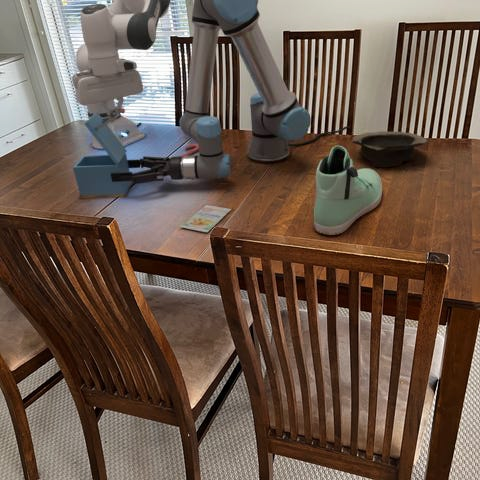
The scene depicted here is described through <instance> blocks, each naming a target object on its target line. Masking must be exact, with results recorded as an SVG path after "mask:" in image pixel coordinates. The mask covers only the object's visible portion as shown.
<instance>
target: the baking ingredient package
mask: <svg viewBox="0 0 480 480" xmlns="http://www.w3.org/2000/svg"><path fill="white" fill-rule="evenodd" d="M231 211H232V208H228V207H221V206H217V205H211V204H205V205H204V206H203V207H201V209H199V210H198V211H197V212H196V213H195V214H193V215H192V216H191V217H190V218H189V219H188V220H187V221H185V222H184V223H183V224H181V226H180V228H183V229H187V230H193V231H198V232H203V233H209V232H210V230H212V228H213V227H215V226H216V225H217V224H219V222H220V221H221V220H222V219H223V218H224V217H225V216H226V215H228V213H230V212H231Z"/></svg>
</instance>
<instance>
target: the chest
mask: <svg viewBox="0 0 480 480" xmlns="http://www.w3.org/2000/svg"><path fill="white" fill-rule="evenodd" d="M127 160H128V156H127V153H125V155H124V156H123V158H122V159H121V161H120V162H119V163H118V164H115V162H114V161H113V160H112V159H111V157H110V156H109V155H108V154H96V155H95V154H92V155H82V157H80V158H79V160H78V161H77V162H76V163H75V164H74V165H73V167H72V170H73V173H74V177H75V181H76V185H77V188H78V192H79V196H80V199H96V198H97V199H98V198H99V199H101V198H103V199H104V198H123V197H124V198H125V197H126V195H127V194H128V192H129V190H130V188H131V186H132V185H133V184H132V181H121V182H112V178H111V173H125V172H131V171H130V168H129V166H128V161H127Z"/></svg>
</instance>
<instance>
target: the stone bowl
mask: <svg viewBox="0 0 480 480" xmlns="http://www.w3.org/2000/svg"><path fill="white" fill-rule="evenodd" d="M428 142H429V140H428V139H427V138H425V137H423V136H421V135H418V134H415V133H412V132H404V131H376V132H375V131H374V132H373V131H372V132H364V133H362V134H356V135H355V136H353V137H352V141H351V143H353V144H355V145H358V146H360V149H361V153H362V154H363V156H364V157H365V158H366V159H367V160H370V161H371V166H373V167H376V168H377V167H380V168H389V167H397V166H400V165H402V162H403V161H404V162H408V161H409V162H410V161H412V160H413V157H414V153H415V148H416V147H419V146H423V145H424V144H426V143H428Z"/></svg>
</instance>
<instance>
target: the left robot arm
mask: <svg viewBox="0 0 480 480" xmlns="http://www.w3.org/2000/svg"><path fill="white" fill-rule="evenodd" d="M170 4H171V0H113V2H112V3H111V4H110V6H109V7H108V6H107V5H106V4H103V3H95V4H94V3H93V4H91V5H86V6H84V7H83V8H82V9H81V10H80V26H81V28H80V29H81V33H82V39H83V44H81V45H80V46H79V47H78V48H77V50H76V53H75V61H76V68H77V69H78V71H76V72H75V73H74V74H73V75H72V77H71V81H72V85H73V87H74V90H75V98H76V102H77V103H78V104H79V105H81V106H86V109H87V118H88V119H89V118H90V117H91V116H93V115H94V114H95V113H96V112H98V114H99V115H100V116H101V118H102V119H103V120H105V119H107V118H108V117H110V116H111V115H113V113H114V112H116V113H120V115H119V116H118V117H117V118H116V119H115V120H114V122H112V123H111V122H109V123H108V124H107V125H108V127H109V128H110V129H111V131H112V132H113V133H114V135H115V136H116V137H117V139H118V140H119V141H120V142H121V144H122V145H123V146H124V147H127V146H128V145H131V144H132V143H135V142H137V141H139V140H141V139H143V138H145V137H146V135H145V133H144V132H142V131H140V130H139V129H138V127H140V125H142V122H141V121H140V122H138V124H136V123H135V122H134V121H133V120H131V119H129V118H127V117H125V116H123V115H122V114H125V112H126V109H125V108H124V107H123V104H124V102H125V101H124V98H125V97H131V96H134V95H139V94H142V93H143V91H144V85H143V80H142V76H141V74H140V72H139V70H137V68H138V65H137V62H136V61H134V60H129V59H125V58H121V57H120V54H119V51H120V50H138V51H139V50H140V51H148V50H150V48H151V47H153V45H154V44H155V43H156V38H157V28H158V24H159V20H160V19H162V18H163V17H164V16H165V15H166V14H167V13H168V11H169V9H170V6H171V5H170ZM115 100H116V101H117V105H116V103H115ZM122 107H123V108H122ZM91 137H92V138H91V140H92V141H91V147H92V148H94V149H98V150H104V148H103V147H102V146H101V145H100V143H99V142H98V141H97V140H96V138H95V137H94V136H93V134H92V133H91Z"/></svg>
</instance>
